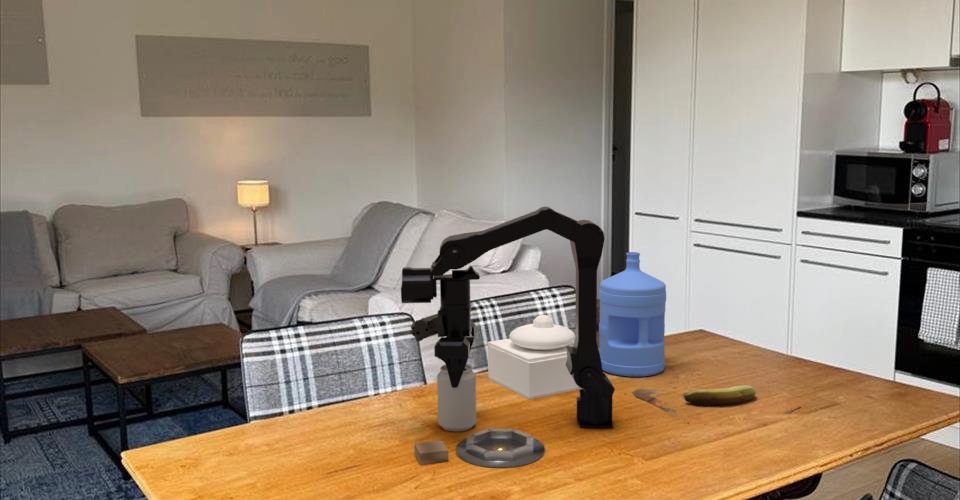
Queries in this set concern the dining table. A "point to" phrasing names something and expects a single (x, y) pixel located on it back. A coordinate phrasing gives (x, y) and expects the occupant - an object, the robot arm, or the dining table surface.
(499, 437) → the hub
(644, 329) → the water jug
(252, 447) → the dining table surface
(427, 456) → the walnut block
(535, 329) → the butter dish
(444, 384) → the can
